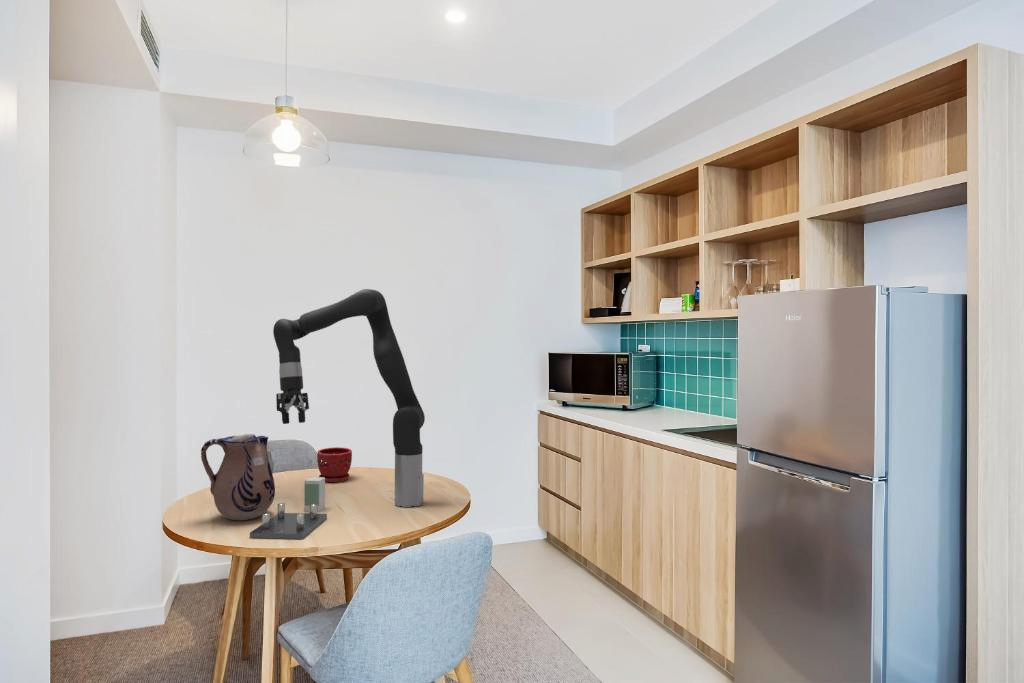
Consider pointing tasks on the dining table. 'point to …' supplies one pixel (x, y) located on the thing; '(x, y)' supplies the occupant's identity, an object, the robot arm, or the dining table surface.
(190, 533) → the dining table surface
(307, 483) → the block
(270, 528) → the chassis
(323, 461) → the plant pot
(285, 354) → the robot arm
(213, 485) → the ceramic pitcher
